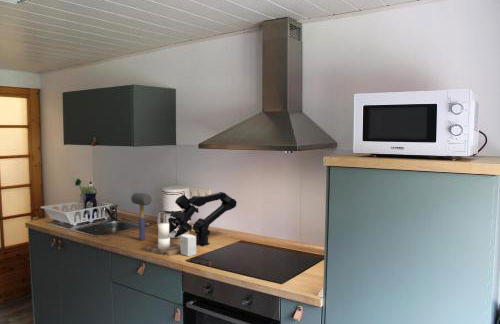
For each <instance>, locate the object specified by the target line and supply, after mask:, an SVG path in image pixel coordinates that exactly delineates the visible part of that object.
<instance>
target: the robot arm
mask: <svg viewBox="0 0 500 324" xmlns="http://www.w3.org/2000/svg"><path fill="white" fill-rule="evenodd" d="M219 200H220V201H221V205H220V206H218V207H217V208H216V209H215V210H214V211H212V212H211V213H210V214H208V215H207V216H206V217H205V218H198V219H197V220H195V221H194V223H193V224H192V225H191V223H189V221H191V220H192V216H193V215H194V214H195V213H197V214H198V213H199V212H200V211H199V208H198V207H203V206H204V205H206V204H207V203H211V202H216V201H219ZM174 202H175V204H176V205H177V206H178V207H179V208H180V209H181V210H183V211H173V210H171V213H170V215H169V218H168V219H167V220H168V221H167V223H169V235H170V234H171V233H173V232H174V231H175V229H176V228H177V226H178V225H179V230H178V231H177V233H176V232H175V234H174V238H175V239H176V238H178V237H180V235H185V234H186V233H188V232H191V231H192V230H193V231H194V233H195V234H196V246H201V247H206V246H207V245H210V242H209V236H210V234H211V231H210V230H209V227H210V225H211V224H212V223H214V222H215V221H216V220H217V219H218V218H219V217H221V216H222V215H224V214H225V213H226V212H228V211H230V210H232V209H235V208H236V207H237V200H236V199H235V198H232V197H231V196H230V195H228V194H227V193H225V192H222V191H219V192H215V193H211V194H207V195H194V196H193V195H192V196H191V198H188V197H187V196H186V195H185V194H181V196H178V197H177V198H176V200H175V201H174Z"/></svg>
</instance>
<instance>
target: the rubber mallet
mask: <svg viewBox="0 0 500 324" xmlns="http://www.w3.org/2000/svg"><path fill="white" fill-rule="evenodd" d="M130 199H131V202H132V203H133V204H135V205H139V218H138V229H139V232H138V233H139V234H138V235H139V236H138V239H139V241H146V233H145V230H146V229H145V227H146V221H145V220H146V219H145V212H144V211H145V210H144V209H145V207H144V206H150V204H151V203H152V199H153V198H152V196H151V195H150V194H148V193H143V192H135V193H133V194H132V196H131V197H130Z"/></svg>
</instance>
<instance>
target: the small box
mask: <svg viewBox="0 0 500 324" xmlns="http://www.w3.org/2000/svg"><path fill="white" fill-rule="evenodd" d="M179 238H180V239H179V245H180V254H181V255H183V256H186V257H191V256H192V257H193V256H196V255H197V245H196V243H197V235H193V234H191V233H187V234H186V233H184V234H182V235H180V236H179Z"/></svg>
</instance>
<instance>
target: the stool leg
mask: <svg viewBox="0 0 500 324" xmlns="http://www.w3.org/2000/svg"><path fill="white" fill-rule="evenodd" d="M157 229H158V232H157V233H158V237H157V244H158V250H163V251H164V250H169V249H170V243H171V237H170V234H169V222H161V223H158V226H157Z"/></svg>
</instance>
